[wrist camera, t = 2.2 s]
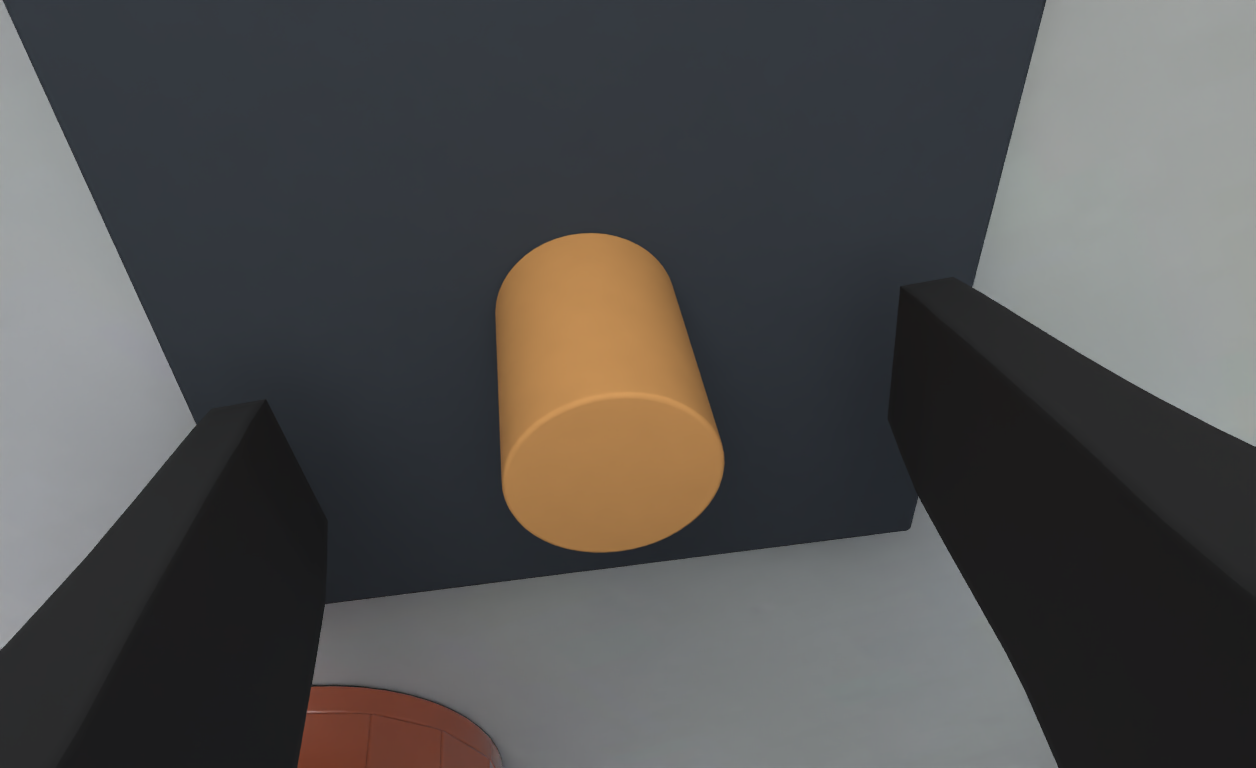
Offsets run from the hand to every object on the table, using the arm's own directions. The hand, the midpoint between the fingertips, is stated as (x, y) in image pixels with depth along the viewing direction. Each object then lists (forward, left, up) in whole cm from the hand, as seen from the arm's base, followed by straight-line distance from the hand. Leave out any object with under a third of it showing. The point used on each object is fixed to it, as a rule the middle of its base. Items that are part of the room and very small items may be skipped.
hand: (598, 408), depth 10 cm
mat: (0, 0, -3) cm, 3 cm away
